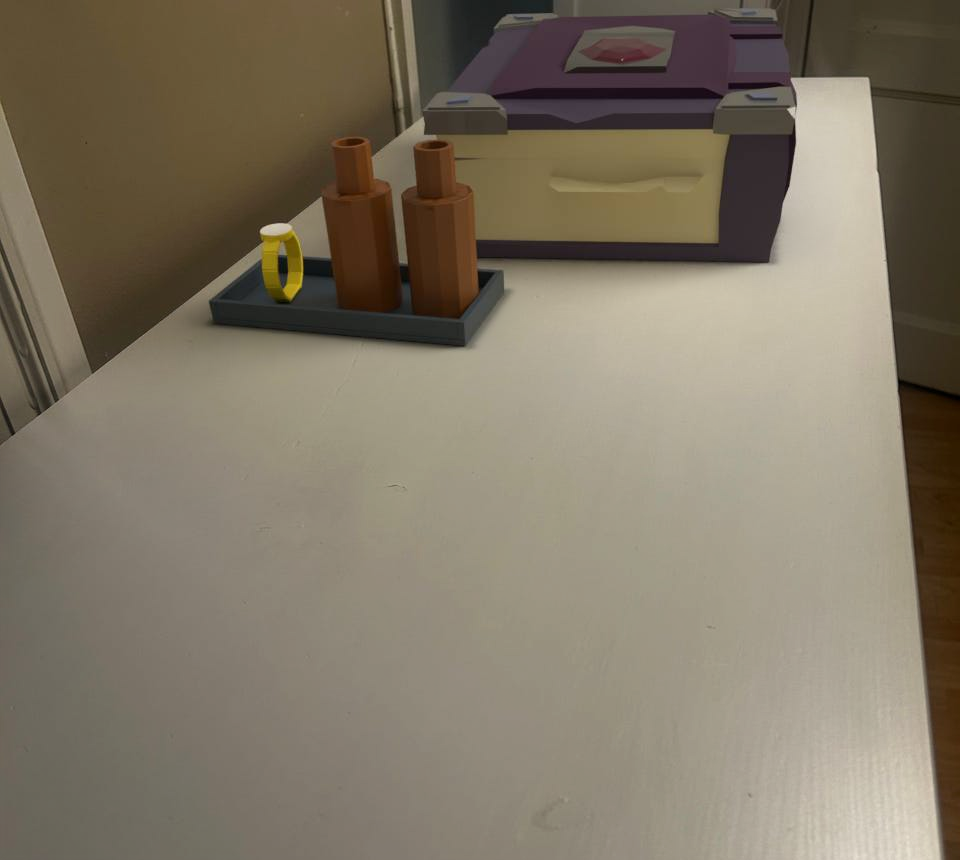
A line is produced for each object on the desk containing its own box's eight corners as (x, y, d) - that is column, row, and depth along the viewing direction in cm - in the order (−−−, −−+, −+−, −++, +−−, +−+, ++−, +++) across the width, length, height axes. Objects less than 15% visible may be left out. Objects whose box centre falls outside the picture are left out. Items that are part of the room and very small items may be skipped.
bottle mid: (329, 319, 85) (302, 151, 76) (354, 293, 89) (332, 131, 80) (389, 324, 83) (369, 153, 74) (412, 298, 87) (395, 133, 78)
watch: (286, 282, 90) (274, 215, 86) (314, 283, 90) (303, 216, 86) (261, 309, 86) (247, 240, 82) (291, 310, 85) (278, 240, 81)
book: (770, 129, 121) (789, -5, 112) (790, 267, 88) (818, 93, 79) (505, 130, 127) (502, 3, 117) (431, 260, 94) (417, 97, 84)
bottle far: (404, 325, 83) (386, 154, 74) (426, 299, 87) (412, 133, 78) (466, 331, 81) (456, 157, 73) (486, 304, 85) (478, 135, 76)
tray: (213, 323, 85) (208, 300, 84) (271, 274, 93) (267, 253, 92) (465, 346, 79) (464, 322, 78) (504, 292, 87) (503, 269, 86)
